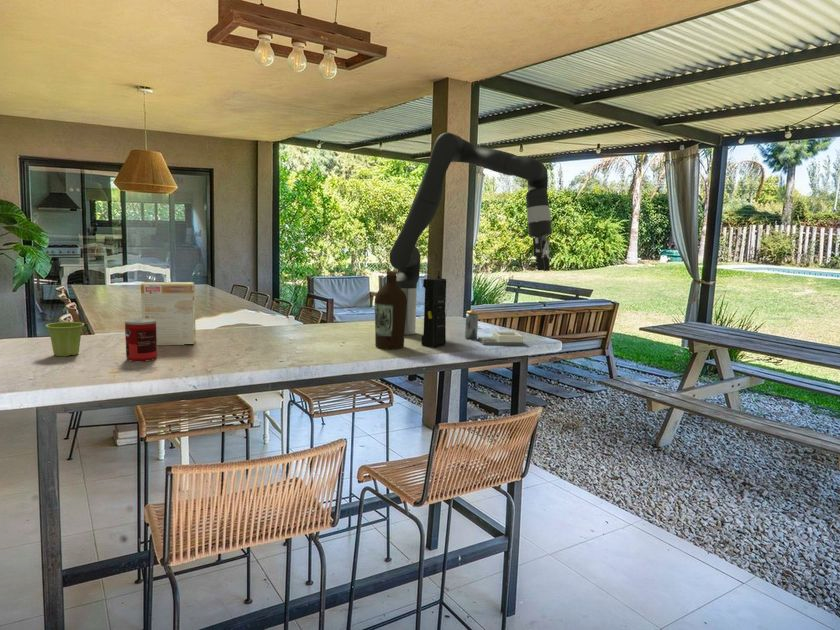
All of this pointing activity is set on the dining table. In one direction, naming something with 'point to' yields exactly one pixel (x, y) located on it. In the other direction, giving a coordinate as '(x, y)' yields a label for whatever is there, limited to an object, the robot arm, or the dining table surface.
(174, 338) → the coffeecake box
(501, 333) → the tester board
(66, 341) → the plant pot
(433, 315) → the portable radio
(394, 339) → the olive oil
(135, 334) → the canned food
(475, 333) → the cell
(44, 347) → the dining table surface
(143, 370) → the dining table surface
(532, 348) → the dining table surface
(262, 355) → the dining table surface
